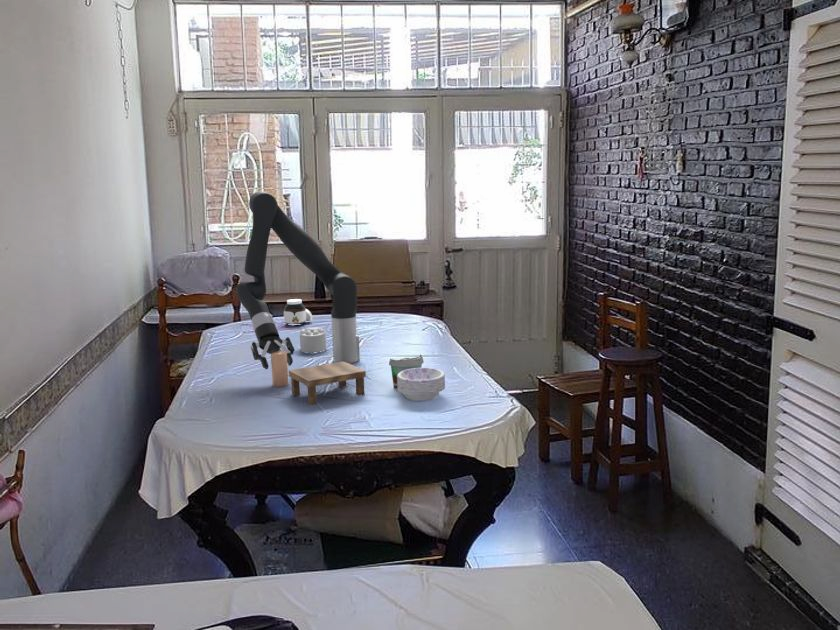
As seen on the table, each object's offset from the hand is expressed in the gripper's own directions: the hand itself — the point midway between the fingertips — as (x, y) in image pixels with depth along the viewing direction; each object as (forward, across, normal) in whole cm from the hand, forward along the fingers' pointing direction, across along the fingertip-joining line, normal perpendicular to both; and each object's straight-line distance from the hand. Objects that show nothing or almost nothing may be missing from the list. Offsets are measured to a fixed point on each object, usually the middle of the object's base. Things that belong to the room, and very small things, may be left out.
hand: (279, 366), depth 277 cm
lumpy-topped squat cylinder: (-24, +31, +34) cm, 52 cm away
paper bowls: (+34, +31, -25) cm, 53 cm away
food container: (+26, +34, -17) cm, 46 cm away
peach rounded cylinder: (+5, 0, +4) cm, 6 cm away
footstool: (+19, +8, -10) cm, 23 cm away
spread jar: (-63, +48, +72) cm, 107 cm away
